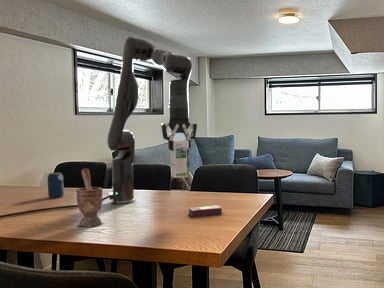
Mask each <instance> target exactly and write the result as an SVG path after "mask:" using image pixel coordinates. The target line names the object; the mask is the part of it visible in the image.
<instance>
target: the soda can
mask: <svg viewBox="0 0 384 288" xmlns="http://www.w3.org/2000/svg"><path fill="white" fill-rule="evenodd" d="M64 187H65V185H64V174H63V172H62V171H61V172H58V171H57V172H48V175H47V196H48V198H50V199H59V198H62V197H63V196H64V194H65V188H64Z"/></svg>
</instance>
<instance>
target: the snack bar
mask: <svg viewBox="0 0 384 288" xmlns="http://www.w3.org/2000/svg"><path fill="white" fill-rule="evenodd" d="M188 212H189V213H188V215H189V216H191V217H192V218H197V217H205V216H214V215H215V216H216V215H222V207H221V206H219V205H207V206H198V207H188Z"/></svg>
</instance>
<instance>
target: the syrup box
mask: <svg viewBox="0 0 384 288" xmlns="http://www.w3.org/2000/svg"><path fill="white" fill-rule="evenodd" d="M172 141H173V151H170V172H171V173H170V176H171V177H172V178H173V179H180V178H182V179H183V178H190V148H189V141H188V140H187V139H172Z"/></svg>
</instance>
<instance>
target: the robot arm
mask: <svg viewBox="0 0 384 288" xmlns="http://www.w3.org/2000/svg"><path fill="white" fill-rule="evenodd" d="M134 60H135V61H139V62H140V61H141V62H152V63H153V64H154V65H155V66H157V67H159V68H162V69H163V70H164V71H165V72H166V73H170V74H176V75H177V74H178V77H177V78H176V79H172V80H170V81H169V85H168V87H169V97H168V117H169V118H168V123H161V124H160V127H161V133H162V138H163V140H166V141H167V143H168V146H167V147H168V150H169V151H170V152H171V151H173V141H172V140H174V138H175V136H176V134H183V135H184V138H185V140H188V141H189V149H191V148H192V140H194V139H196V137H197V128H198V124H197V123H191V121H190V104H189V103H190V102H189V101H190V100H189V81H190V77H191V73H192V69H193V64H192V60H191V58H189V57H188V56H187V55H181V54H174V53H173V52H171V51H169V50H166V49H163V48H159V47H157V46H155V45H154V44H152V43H151V42H149V41H148V40H146V39H143V38H138V37H134V36H128V37H126V39H125V40H124V43H123V47H122V57H121V68H120V77H119V83H118V86H117V90H116V91H117V92H116V99H115V105H114V110H113V115H112V119H111V122H110V123H111V124H110V127H109V130H108V134H107V139H106V142H107V147H108V148H109V150H110V151H112V152H119V153H118V155H117V156H115V157H114V158H112V159H111V178H112V181H111V192H109V193H108V195H107V196H105V197H102V203H103V202H104V201H105V200H107V199H109V200H110V201H112V203H113V204H116V205H117V204H118V205H119V204H120V205H121V204H130V203H133V202H134V201H135V192H134V191H135V190H134V189H135V188H134V187H135V186H134V160H135V153H136V152H135V151H136V150H135V149H136V147H135V146H136V140H135V135H134V134H133V132H132V131H131V130H127V129H125V125H126V122H127V121H128V119H129V118H130V116H131V115H132V114H133V112H134V111H135V110H136V108H137V106H138V102H139V97H140V87H139V84H138V81H137V78H136V75H135V73H134ZM168 128H170V132H169V136H168V132H167V130H168ZM189 128H190V129H191V132H190V133H189V131H188V130H189ZM124 129H125V130H124ZM70 208H78V204H71V205H61V206H51V207H45V208H36V209H30V210H25V211H17V212H12V213H5V214H0V219H1V218H6V217H12V216H13V217H14V216H18V215H24V214H25V215H26V214H29V213H30V214H31V213H37V212H44V211H52V210H59V209H70Z"/></svg>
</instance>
